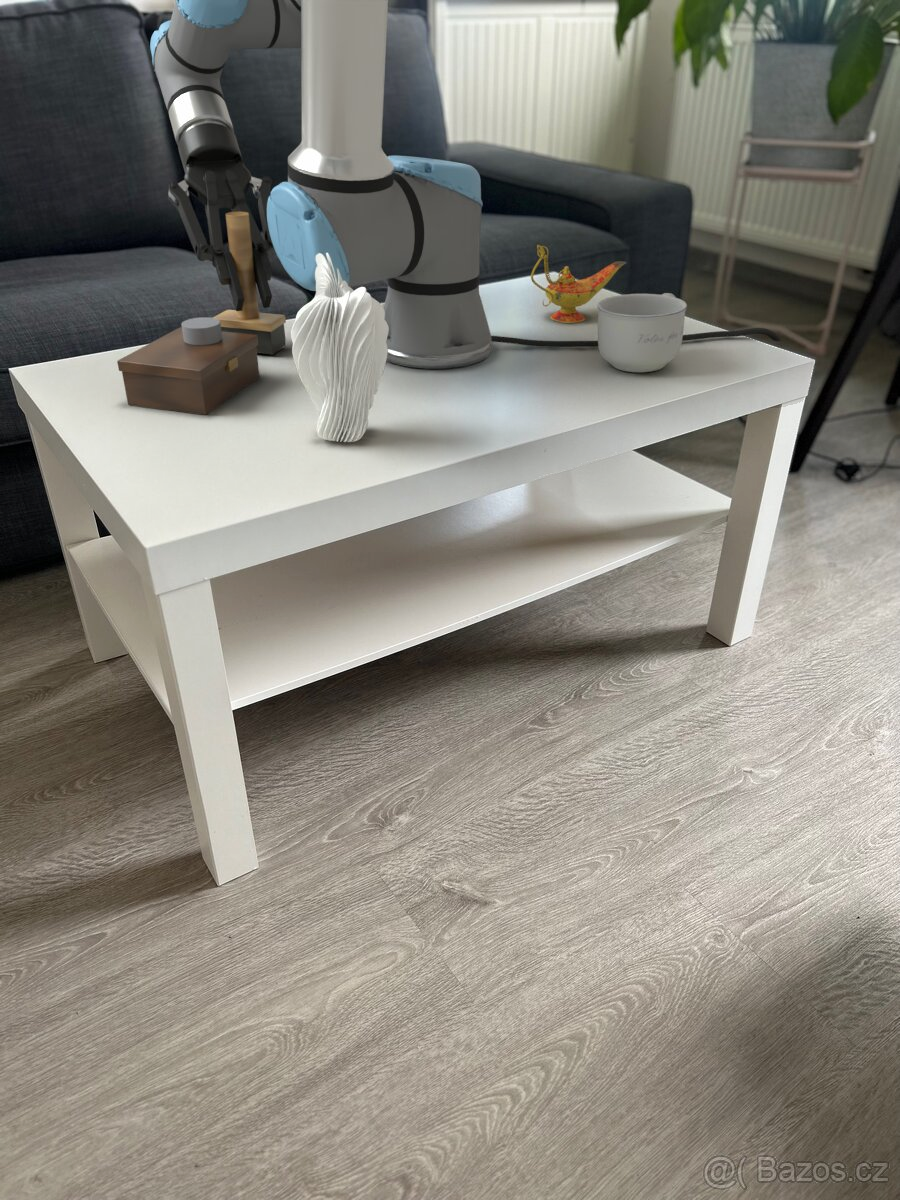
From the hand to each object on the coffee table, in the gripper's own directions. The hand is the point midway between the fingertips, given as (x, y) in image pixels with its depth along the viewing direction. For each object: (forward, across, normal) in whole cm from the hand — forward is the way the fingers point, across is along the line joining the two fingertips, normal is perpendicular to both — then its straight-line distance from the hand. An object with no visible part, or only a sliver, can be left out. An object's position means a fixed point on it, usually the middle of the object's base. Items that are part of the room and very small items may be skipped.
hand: (254, 303), depth 116 cm
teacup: (+20, -44, +10) cm, 50 cm away
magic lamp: (+5, -48, -5) cm, 48 cm away
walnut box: (+11, +10, +1) cm, 15 cm away
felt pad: (+6, +8, +3) cm, 10 cm away
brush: (+2, 0, -7) cm, 8 cm away
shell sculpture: (+25, -2, +15) cm, 29 cm away
